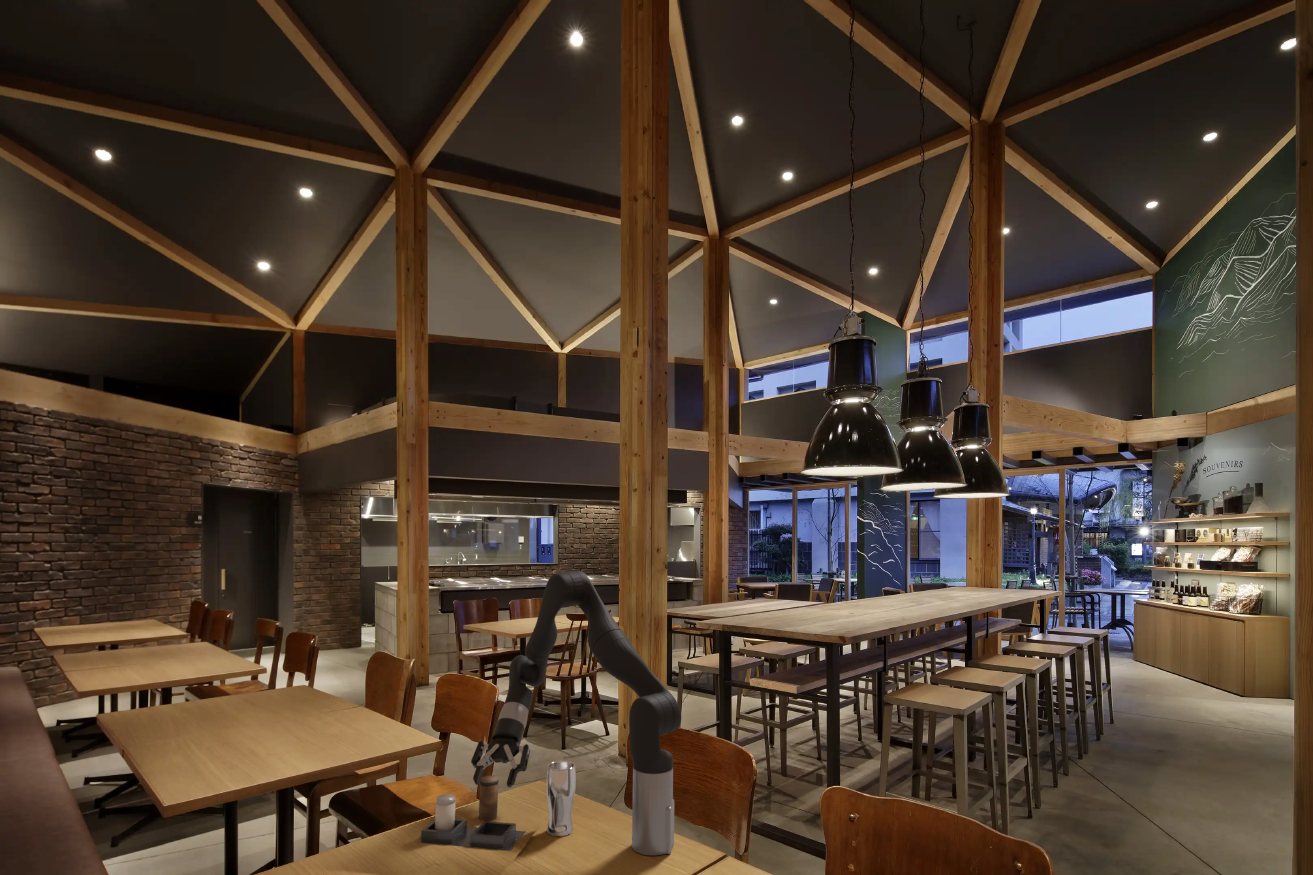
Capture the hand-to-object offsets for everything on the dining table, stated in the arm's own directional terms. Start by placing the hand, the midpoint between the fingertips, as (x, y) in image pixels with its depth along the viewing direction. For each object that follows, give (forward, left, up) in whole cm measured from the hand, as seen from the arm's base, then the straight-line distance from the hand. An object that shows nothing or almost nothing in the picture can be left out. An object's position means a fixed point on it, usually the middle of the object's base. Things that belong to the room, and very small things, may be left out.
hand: (492, 784), depth 175 cm
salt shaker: (+6, +13, -7) cm, 16 cm away
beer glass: (-19, +4, -8) cm, 21 cm away
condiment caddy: (-1, +13, -8) cm, 15 cm away
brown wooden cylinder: (0, +2, -8) cm, 8 cm away
